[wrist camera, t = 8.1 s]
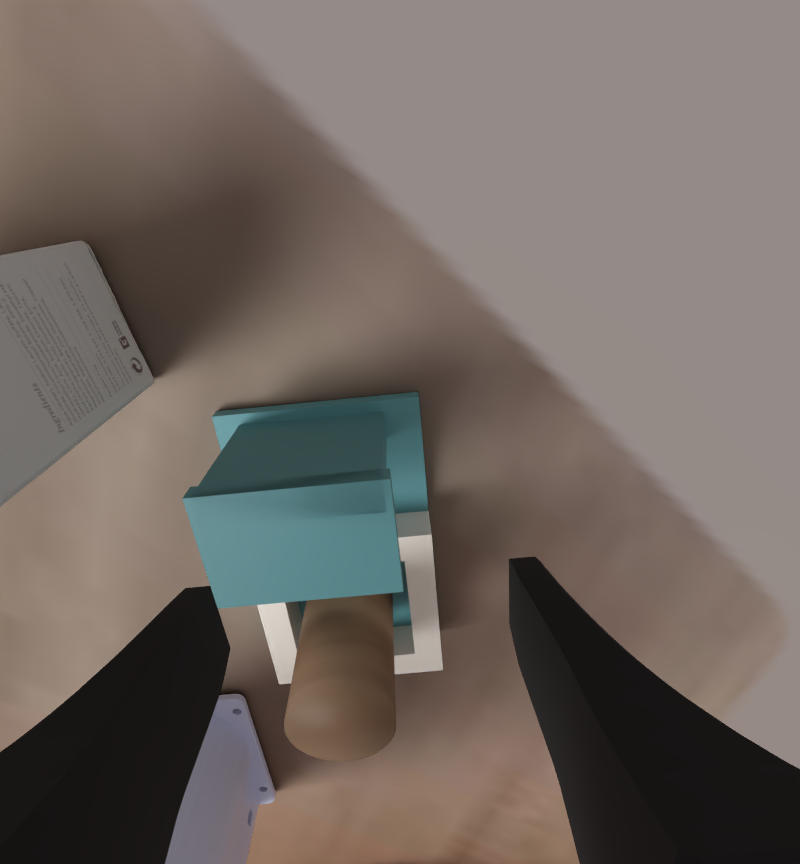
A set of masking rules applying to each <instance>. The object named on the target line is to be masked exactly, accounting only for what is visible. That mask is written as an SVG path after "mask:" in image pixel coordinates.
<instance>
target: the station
mask: <svg viewBox="0 0 800 864" xmlns="http://www.w3.org/2000/svg"><path fill="white" fill-rule="evenodd" d="M212 419H213V423H214V427H215V430H216V434H217V438H218V441H219V445H220V449H221V453H220V454H219V456H218V457H217V459H216V460H215V462H214V463H213V465H212V466H211V468H210V469H209V471H208V472H207V474H206V475H205V477H204V478H203V480H202V481H201V483H200V484H199V486H196V487H190V488H189V490H188V491H187V493H186V494H185V496H184V497H183V498H182V499H183V502H184V505H185V508H186V511H187V514H188V518H189V521H190V524H191V527H192V530H193V533H194V536H195V539H196V542H197V546H198V549H199V552H200V555H201V558H202V561H203V564H204V567H205V571H206V574H207V577H208V580H209V583H210V586H211V589H212V592H213V595H214V599H215V602H216V605H217V608H229V607H240V606H251V605H257V606H258V610H259V613H260V617H261V621H262V624H263V628H264V631H265V635H266V639H267V642H268V646H269V649H270V653H271V657H272V660H273V664H274V667H275V671H276V675H277V678H278V682H279V684H290V683H291V681H292V676H293V671H294V665H295V660H296V654H297V649H298V643H299V638H300V632H301V627H302V622H303V616H304V611H305V605H306V601H307V600H318V599H329V598H340V597H351V596H363V595H374V594H385V593H393V630H394V671H395V674H406V673H417V672H429V671H440V670H443V665H442V653H441V641H440V629H439V617H438V605H437V593H436V581H435V569H434V557H433V545H432V534H431V526H430V519H429V511H428V499H427V487H426V476H425V464H424V452H423V440H422V428H421V416H420V404H419V395H418V392H410V393H399V394H389V395H379V396H369V397H358V398H348V399H338V400H327V401H317V402H307V403H296V404H286V405H276V406H265V407H255V408H245V409H234V410H224V411H216V412H215V414H214V415H213V416H212Z"/></svg>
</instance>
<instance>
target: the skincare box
mask: <svg viewBox="0 0 800 864" xmlns="http://www.w3.org/2000/svg"><path fill="white" fill-rule="evenodd" d="M153 383H154V379H153V376H152V374H151V372H150V370H149V367H148V365H147V363H146V361H145V359H144V357H143V355H142V353H141V352H140V350H139V348H138V346H137V344H136V342H135V340H134V338H133V336H132V334H131V331H130V329H129V327H128V325H127V323H126V321H125V319H124V317H123V315H122V313H121V311H120V308H119V306H118V303H117V301H116V299H115V296H114V295H113V293H112V291H111V288H110V286H109V285H108V282H107V280H106V278H105V276H104V275H103V272H102V270H101V268H100V266H99V264H98V262H97V260H96V258H95V255H94V253H93V251H92V249H91V248H90V246H89V245H88V244H87V243H85V242H83V241H74V242H68V243H63V244H58V245H52V246H47V247H42V248H36V249H30V250H25V251H20V252H15V253H10V254H4V255H0V506H1V505H3V504H4V503H5V502H6V501H8V500H9V499H10V498H11V497H13V496H14V495H15V494H16V493H18V492H19V491H20V490H21V489H23V488H24V487H25V486H26V485H28V484H29V483H30V482H31V481H33V480H34V479H35V478H37V477H38V476H39V475H40V474H42V473H43V472H44V471H45V470H47V469H48V468H49V467H50V466H52V465H53V464H54V463H55V462H56V461H58V460H59V459H60V458H61V457H63V456H64V455H65V454H66V453H67V452H69V451H70V450H71V449H72V448H74V447H75V446H76V445H77V444H79V443H80V442H81V441H82V440H84V439H85V438H86V437H87V436H88V435H90V434H91V433H92V432H94V431H95V430H96V429H97V428H99V427H100V426H101V425H102V424H104V423H105V422H106V421H107V420H108V419H110V418H111V417H112V416H113V415H115V414H116V413H117V412H118V411H120V410H121V409H122V408H123V407H125V406H126V405H127V404H128V403H130V402H131V401H132V400H133V399H135V398H136V397H137V396H138V395H139V394H141V393H142V392H143V391H144V390H146V389H147V388H148V387H149V386H151V385H152V384H153Z"/></svg>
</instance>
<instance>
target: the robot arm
mask: <svg viewBox="0 0 800 864" xmlns="http://www.w3.org/2000/svg"><path fill="white" fill-rule="evenodd" d="M509 624H510V628H511V633H512V637H513V641H514V646H515V650H516V654H517V659H518V663H519V666H520V669H521V672H522V675H523V678H524V681H525V684H526V687H527V690H528V693H529V695H530V698H531V701H532V704H533V707H534V710H535V713H536V715H537V718H538V721H539V724H540V727H541V730H542V733H543V735H544V738H545V741H546V744H547V747H548V750H549V753H550V755H551V758H552V761H553V764H554V767H555V771H556V774H557V777H558V780H559V784H560V787H561V791H562V795H563V799H564V803H565V807H566V811H567V815H568V818H569V822H570V826H571V830H572V834H573V838H574V842H575V846H576V850H577V854H578V858H579V862H580V864H800V769H798V768H796V767H795V766H793V765H791V764H789V763H787V762H785V761H784V760H782V759H780V758H779V757H777V756H775V755H774V754H772V753H770V752H768V751H767V750H765V749H764V748H762V747H760V746H759V745H757V744H755V743H754V742H752V741H750V740H749V739H747V738H745V737H744V736H742V735H740V734H739V733H737V732H736V731H734V730H733V729H731V728H730V727H728V726H727V725H725V724H724V723H722V722H721V721H719V720H718V719H716V718H715V717H713V716H712V715H710V714H709V713H707V712H706V711H704V710H703V709H701V708H700V707H698V706H697V705H696V704H694V703H693V702H691V701H690V700H688V699H687V698H685V697H684V696H683V695H681V694H680V693H679V692H677V691H676V690H675V689H673V688H672V687H671V686H669V685H668V684H667V683H665V682H664V681H663V680H662V679H660V678H659V677H658V676H656V675H655V674H654V673H653V672H651V671H650V670H649V669H648V668H646V667H645V666H644V665H643V664H642V663H640V662H639V661H638V660H637V659H636V658H635V657H633V656H632V655H631V654H630V653H629V652H628V651H626V650H625V649H624V648H623V647H622V646H621V645H620V644H619V643H618V642H617V641H615V640H614V639H613V638H612V637H611V636H610V635H609V634H608V633H607V632H606V631H605V630H604V629H603V628H602V627H601V626H599V625H598V624H597V623H596V622H595V621H594V620H593V619H592V618H591V617H590V616H589V615H588V614H587V613H586V612H585V611H584V610H583V609H582V607H581V606H580V605H579V604H578V603H577V602H576V601H575V600H574V599H573V598H572V597H571V596H570V595H569V594H568V593H567V592H566V591H565V589H564V588H563V587H562V586H561V585H560V584H559V583H558V582H557V581H556V579H555V578H554V577H553V576H552V575H551V574H550V572H549V571H548V570H547V569H546V568H545V567H544V565H543V564H542V563H541V562H540V561H539V560H538V559H537V558H536V557H525V558H514V559H509ZM229 652H230V646H229V643H228V639H227V636H226V633H225V630H224V627H223V624H222V621H221V618H220V615H219V611H218V608H217V605H216V602H215V599H214V596H213V593H212V590H211V587H210V586H205V587H194V588H185V589H184V590H183V591H182V592H181V593H180V594H179V595H178V596H177V597H176V598H174V599H173V600H172V601H171V602H170V603H169V604H168V605H167V606H166V607H165V608H164V609H163V610H162V611H161V612H160V613H159V614H158V615H157V616H156V617H155V618H154V619H153V620H152V621H151V622H150V623H149V624H148V625H147V626H146V627H145V628H144V629H143V630H142V631H141V632H140V633H139V634H138V635H137V636H136V637H135V638H134V639H133V640H132V641H131V642H130V643H129V644H128V645H127V646H126V647H125V648H124V649H123V650H122V651H121V652H119V653H118V654H117V655H116V656H115V657H114V658H113V659H112V660H111V661H110V662H109V663H108V664H107V665H105V666H104V667H103V668H102V669H101V670H100V671H99V672H98V673H97V674H96V675H94V676H93V677H92V678H91V679H90V680H89V681H88V682H87V683H86V684H84V685H83V686H82V687H81V688H80V689H79V690H78V691H77V692H76V693H75V694H73V695H72V696H71V697H70V698H69V699H68V700H66V701H65V702H64V703H63V704H62V705H60V706H59V707H58V708H57V709H56V710H54V711H53V712H52V713H51V714H50V715H48V716H47V717H46V718H44V719H43V720H42V721H41V722H39V723H38V724H37V725H36V726H34V727H33V728H32V729H31V730H29V731H28V732H27V733H26V734H24V735H23V736H22V737H20V738H19V739H18V740H16V741H15V742H14V743H12V744H11V745H10V746H8V747H7V748H5V749H4V750H3V751H1V752H0V864H246V861H247V856H248V852H249V847H250V842H251V838H252V833H253V828H254V824H255V819H256V814H257V810H258V805H259V804H268V803H271V802H273V801H274V800H275V795H276V792H275V789H274V786H273V783H272V780H271V777H270V774H269V771H268V767H267V764H266V761H265V758H264V755H263V752H262V749H261V746H260V743H259V740H258V736H257V733H256V730H255V727H254V724H253V721H252V718H251V715H250V712H249V709H248V705H247V702H246V699H245V698H244V696H242V695H240V694H226V695H220V692H221V688H222V684H223V680H224V676H225V671H226V667H227V662H228V657H229Z"/></svg>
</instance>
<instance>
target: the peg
mask: <svg viewBox="0 0 800 864" xmlns="http://www.w3.org/2000/svg"><path fill="white" fill-rule="evenodd" d="M395 729H396V711H395V671H394V630H393V593H385V594H374V595H363V596H351V597H340V598H329V599H318V600H307V601H306V605H305V611H304V616H303V622H302V627H301V632H300V638H299V643H298V649H297V654H296V660H295V665H294V671H293V676H292V681H291V687H290V692H289V698H288V703H287V709H286V714H285V719H284V731H285V734H286V736H287V738H288V739H289V741H290V742H291V743H292V744H293V745H294V746H295V747H296V748H297V749H299V750H300V751H302V752H304V753H305V754H308V755H310V756H312V757H316V758H319V759H323V760H330V761H351V760H357V759H361V758H365V757H368V756H370V755H373V754H375V753H377V752H378V751H380V750H381V749H383V748H384V747H385V746H386V745H387V744H388V743H389V742H390V741H391V739H392V738H393V736H394V733H395Z"/></svg>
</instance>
